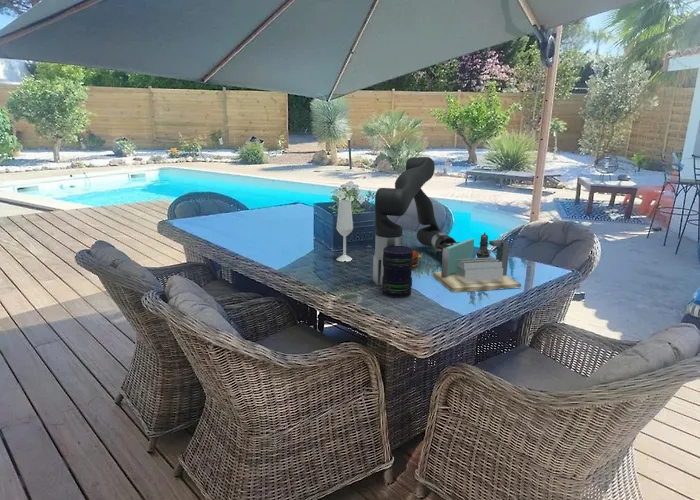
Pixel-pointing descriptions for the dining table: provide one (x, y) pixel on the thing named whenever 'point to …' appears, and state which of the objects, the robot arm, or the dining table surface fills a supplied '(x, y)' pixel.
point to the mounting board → (458, 286)
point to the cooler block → (484, 266)
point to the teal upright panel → (456, 256)
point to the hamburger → (415, 259)
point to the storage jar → (397, 271)
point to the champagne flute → (344, 225)
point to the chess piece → (483, 247)
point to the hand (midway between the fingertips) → (461, 254)
